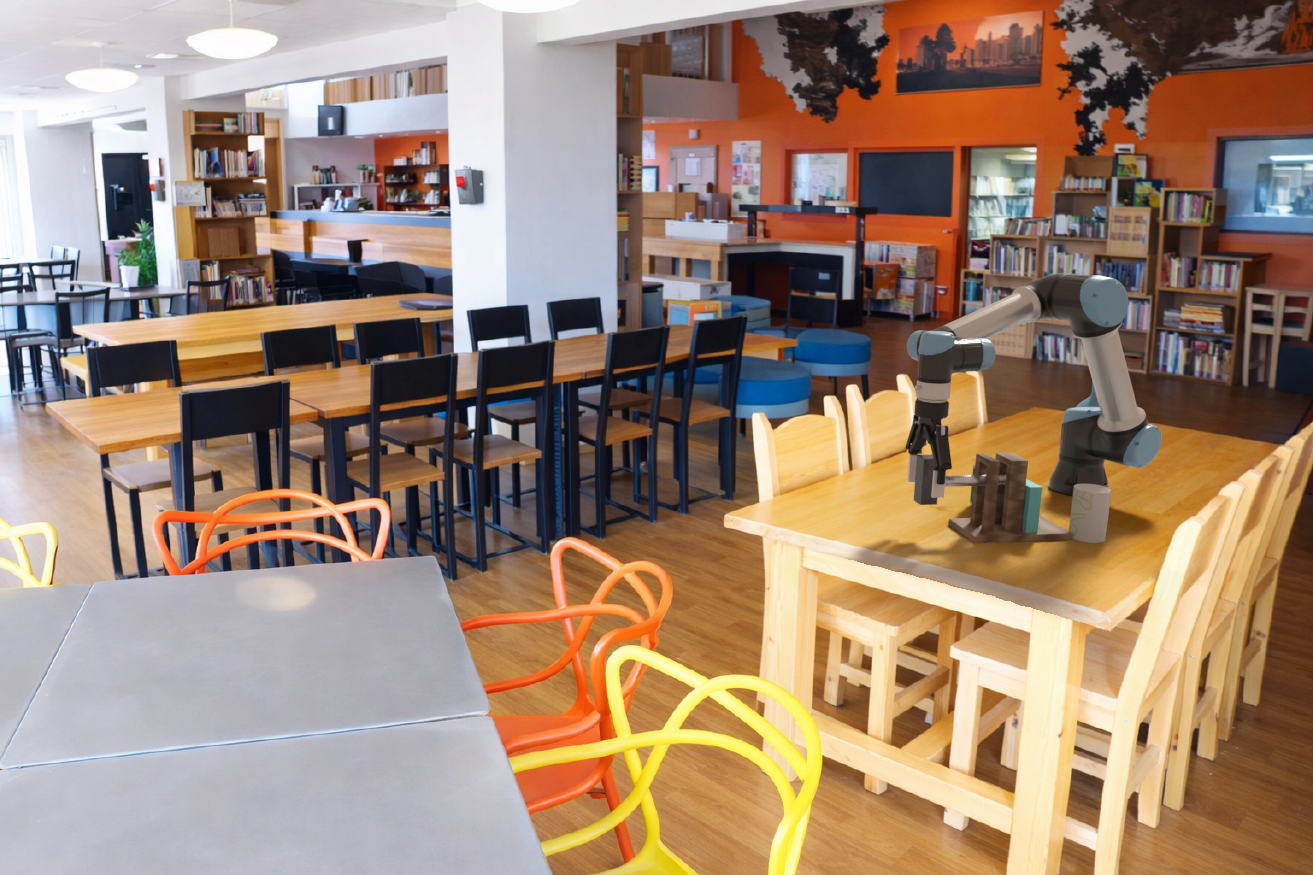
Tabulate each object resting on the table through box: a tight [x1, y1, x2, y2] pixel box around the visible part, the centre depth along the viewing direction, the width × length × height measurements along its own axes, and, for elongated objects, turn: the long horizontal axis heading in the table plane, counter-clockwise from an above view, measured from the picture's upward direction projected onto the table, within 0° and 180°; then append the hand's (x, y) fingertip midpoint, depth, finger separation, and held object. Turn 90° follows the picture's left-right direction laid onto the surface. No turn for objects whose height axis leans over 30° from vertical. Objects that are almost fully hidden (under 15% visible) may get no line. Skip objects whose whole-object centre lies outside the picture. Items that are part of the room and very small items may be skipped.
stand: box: [948, 452, 1072, 544], centre depth 247 cm, size 24×14×18 cm, turn 100°
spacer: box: [1021, 478, 1043, 533], centre depth 248 cm, size 3×11×11 cm, turn 9°
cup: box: [1068, 484, 1112, 544], centre depth 245 cm, size 8×8×12 cm
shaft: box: [913, 453, 1006, 506], centre depth 244 cm, size 23×4×11 cm, turn 100°
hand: (925, 489), depth 243 cm, fingers open, 13 cm apart
